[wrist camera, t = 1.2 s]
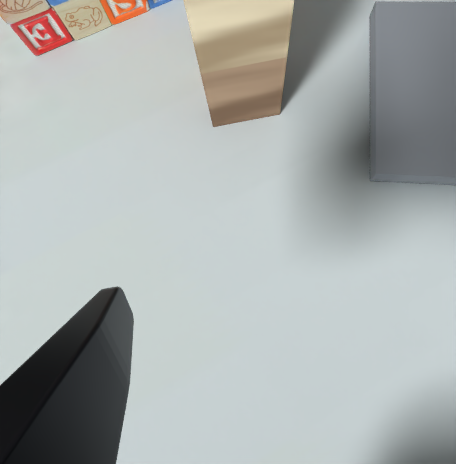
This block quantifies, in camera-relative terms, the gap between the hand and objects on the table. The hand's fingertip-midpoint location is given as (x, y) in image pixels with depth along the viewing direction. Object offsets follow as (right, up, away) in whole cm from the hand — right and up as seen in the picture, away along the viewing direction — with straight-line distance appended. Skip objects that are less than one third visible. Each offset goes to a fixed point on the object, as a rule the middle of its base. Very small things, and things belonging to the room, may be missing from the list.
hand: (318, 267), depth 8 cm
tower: (-1, +10, +16) cm, 19 cm away
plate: (+13, +9, +15) cm, 22 cm away
